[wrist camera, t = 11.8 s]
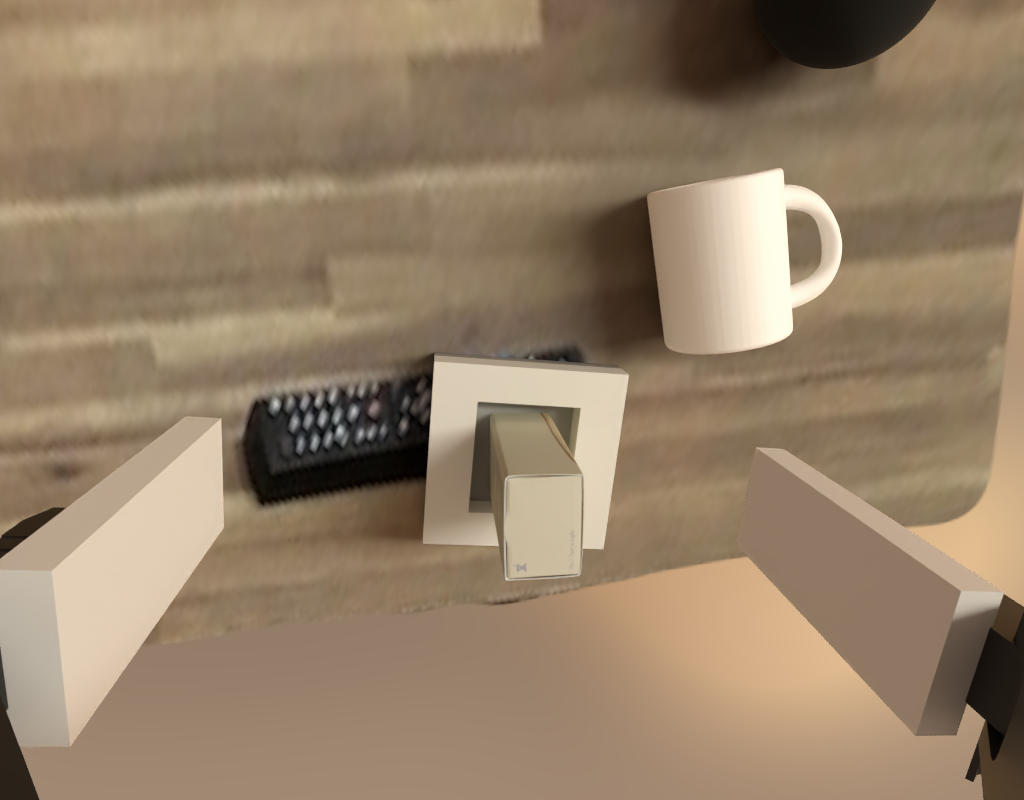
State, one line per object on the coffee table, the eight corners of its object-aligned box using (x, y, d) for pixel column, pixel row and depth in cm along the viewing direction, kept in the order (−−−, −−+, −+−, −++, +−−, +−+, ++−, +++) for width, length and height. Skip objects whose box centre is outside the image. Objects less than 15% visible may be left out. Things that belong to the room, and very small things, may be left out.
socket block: (423, 524, 47) (422, 543, 44) (434, 352, 43) (434, 361, 40) (593, 529, 48) (603, 549, 46) (616, 365, 45) (628, 375, 42)
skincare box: (546, 490, 46) (584, 581, 34) (486, 493, 45) (503, 585, 34) (548, 408, 44) (589, 474, 33) (486, 409, 44) (504, 476, 32)
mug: (648, 339, 45) (692, 363, 37) (630, 196, 42) (673, 189, 34) (807, 305, 46) (882, 322, 38) (799, 162, 43) (879, 148, 35)
